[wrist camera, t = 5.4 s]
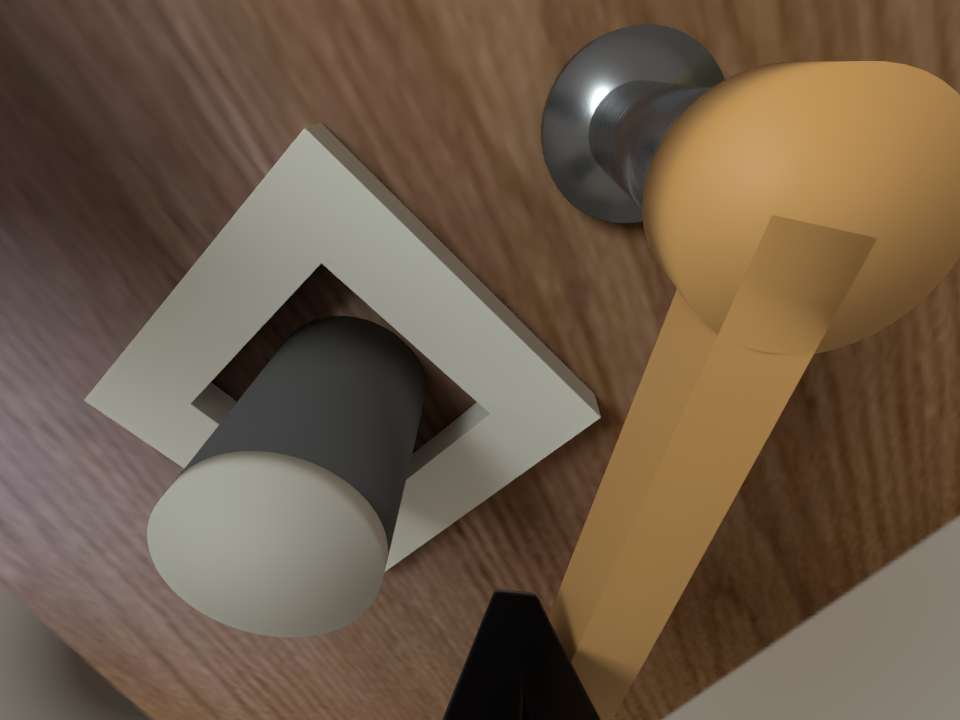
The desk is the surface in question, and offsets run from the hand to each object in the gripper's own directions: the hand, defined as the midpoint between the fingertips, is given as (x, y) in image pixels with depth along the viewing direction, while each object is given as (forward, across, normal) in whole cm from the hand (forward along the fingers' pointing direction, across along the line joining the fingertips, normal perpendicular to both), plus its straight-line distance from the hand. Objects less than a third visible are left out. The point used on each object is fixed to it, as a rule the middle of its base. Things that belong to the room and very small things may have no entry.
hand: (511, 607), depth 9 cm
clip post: (+8, -2, -7) cm, 10 cm away
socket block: (+8, +4, +1) cm, 9 cm away
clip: (0, -1, -1) cm, 2 cm away
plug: (+8, +4, +1) cm, 9 cm away
